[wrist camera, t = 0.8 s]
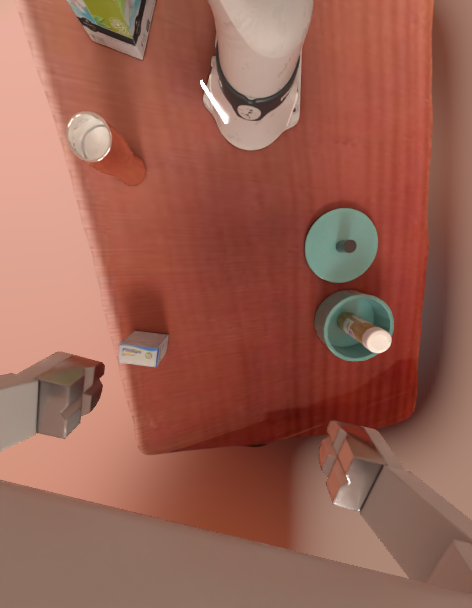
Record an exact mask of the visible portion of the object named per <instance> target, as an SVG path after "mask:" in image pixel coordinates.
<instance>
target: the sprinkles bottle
mask: <svg viewBox="0 0 472 608" xmlns="http://www.w3.org/2000/svg"><path fill="white" fill-rule="evenodd" d="M337 325H338V327H339V328H340V329H342V330H344V331H345V332H346V333H347V334H349V335H350V336H351V337H353V338H354V339H356V340H357V341H359V342H360V343H362V344H363V345H364V346H365V347H366V348H367V349H368V350H370V351H371V352H373V353H382V352H384V351H386V350H387V349H388V348H389V346H390V345H391V336H390V334H389V333H388V332H387V331H385V330H384V329H382V328H380V327H376V326H374V325H373V324H371V323H369V322H368V321H366V320H364V319H362V318H360V317H358V316H355V315H354V314H353V313H351V312H344V313H342V314H340V315H339V317H338V319H337Z"/></svg>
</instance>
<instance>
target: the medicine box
mask: <svg viewBox="0 0 472 608" xmlns="http://www.w3.org/2000/svg"><path fill="white" fill-rule="evenodd" d="M168 337H169V335H167V334H159V333H151V332H142V331H134V332H133V333H132V334H130V335H129V336H128V337H127V338H125V339H124V340H123V341H121V342H120V343H119V363H126V364H134V365H142V366H150V367H157V366H158V364H159V363H160V361H161V360H162V358H163V357H164V355H165V354H166V352H167V346H168Z"/></svg>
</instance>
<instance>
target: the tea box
mask: <svg viewBox="0 0 472 608" xmlns="http://www.w3.org/2000/svg"><path fill="white" fill-rule="evenodd" d="M66 1H67V2H68V4H69V5H70V7H71V8H72V10H73V12H74V13H75V15H76V16H77V18H78V19H79V21H80V22H81V24H82V26H83V27H84V29H85V30H86V32H87V33H88V35H89V36H90V38H91V40H92V41H94V42H96V43H99V44H102V45H105V46H107V47H110V48H112V49H115V50H117V51H120V52H122V53H125V54H127V55H130V56H132V57H135V58H138V59H141V60H143V56H144V52H145V48H146V44H147V39H148V34H149V30H150V26H151V21H152V16H153V11H154V8H155V3H156V0H66Z"/></svg>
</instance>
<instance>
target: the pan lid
mask: <svg viewBox="0 0 472 608" xmlns="http://www.w3.org/2000/svg"><path fill="white" fill-rule="evenodd" d="M377 248H378V236H377V232H376V229H375V226H374V224H373V223H372V221H371V220H370V219H369V218H368V217H367V216H366V215H365V214H363V213H362V212H360V211H358V210H355V209H350V208H340V209H335V210H332V211H330V212H327V213H325V214H324V215H322V216H321V217H320V218H318V219H317V220H316V221H315V223H314V224H313V225H312V226H311V228H310V230H309V232H308V234H307V237H306V240H305V257H306V261H307V263H308V265H309V267H310V269H311V270H312V271H313V272H314V273H315V274H316V275H317V276H318V277H320V278H322V279H324V280H326V281H329V282H334V283H342V282H347V281H351V280H353V279H355V278H357V277H359V276H360V275H362V274H363V273H364V272H365V271H366V270H367V269H368V268H369V267H370V265H371V264H372V262H373V260H374V258H375V255H376V252H377Z"/></svg>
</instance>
